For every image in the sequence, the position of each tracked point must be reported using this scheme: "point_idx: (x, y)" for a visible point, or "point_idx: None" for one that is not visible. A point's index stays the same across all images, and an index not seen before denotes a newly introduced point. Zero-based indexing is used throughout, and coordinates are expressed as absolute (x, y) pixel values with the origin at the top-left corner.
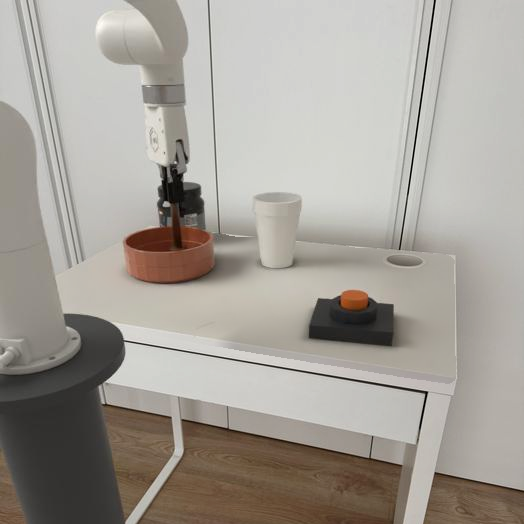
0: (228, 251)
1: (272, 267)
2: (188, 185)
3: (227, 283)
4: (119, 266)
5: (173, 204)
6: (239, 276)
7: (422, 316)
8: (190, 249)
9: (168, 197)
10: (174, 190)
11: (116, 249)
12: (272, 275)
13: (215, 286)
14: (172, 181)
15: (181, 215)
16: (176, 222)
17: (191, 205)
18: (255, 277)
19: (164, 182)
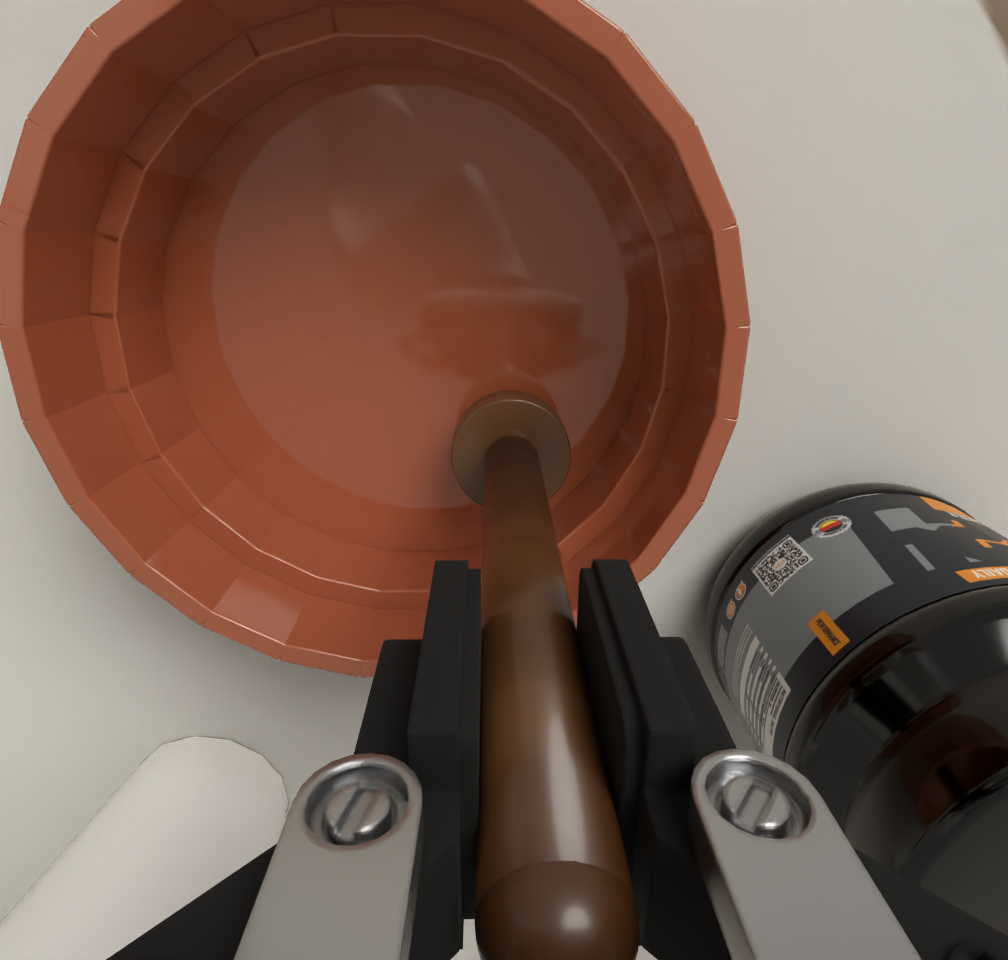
0: None
1: (152, 753)
2: None
3: (31, 493)
4: (638, 31)
5: (487, 601)
6: (107, 585)
7: None
8: (20, 402)
9: (440, 591)
10: (369, 715)
11: (993, 154)
12: (58, 708)
13: (10, 422)
14: (310, 808)
15: (803, 671)
16: (484, 526)
17: None
18: (62, 638)
19: (616, 729)
